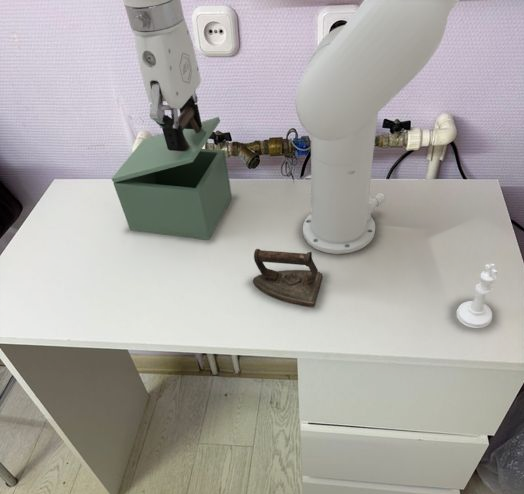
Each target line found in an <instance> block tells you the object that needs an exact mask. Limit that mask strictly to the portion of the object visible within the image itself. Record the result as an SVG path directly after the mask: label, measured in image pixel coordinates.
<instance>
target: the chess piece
mask: <svg viewBox="0 0 524 494" xmlns="http://www.w3.org/2000/svg"><path fill="white" fill-rule="evenodd" d="M495 267H496V264H495V263H493V262H492V263H487V264H485V265H484V269H485V270H484V271H481V273H480V276H479V279H480V282H478V283H477V284H476V285H475V291H476V292H477V294H476V296H475V298H474V299H473V300H468V301H464V302H462V303H461V304H460V305H459V306H458V308H457V310H456V311H455V312H456V313H455V315H456V318H457V320H458V321H459V322H460V323H461V324H462V325H464V326H466V327H468V328H472V329H481V328H482V329H483V328H485V327H487V326H488V325H490V324H491V322H492V320H493V312H492V310H491V308H490V307H489V306H488V305H487V304H486V303H485V300H486V296H487V295H489V294H491V293H492V292H493V287H492V286H491V285H492V284H493V283H494V282H495V281H496V279H497V273H498V270H496V269H495Z"/></svg>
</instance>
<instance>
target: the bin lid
mask: <svg viewBox="0 0 524 494" xmlns="http://www.w3.org/2000/svg"><path fill="white" fill-rule="evenodd" d="M194 115H195V111H194V109H193V108H192V107H190V106H187V107H186V108H185V109H184V110H183V111H182V113H181V114H180V113H179V114H178V124H179V125H181V126H182V130H183V134H184V138H185V142H186V147H187V149H186V150H185V151H170V150H168V148H167V144H166V141H165V137H164V134H163V133H160V134H158V135H154V136H151V137H148V138H147V137H146V138H144V139H142V141H141V142H140V143H139V144H138V145H137V147H136V148H134V150H133V152H131V154H130V155H129V156H128V157H127V158H126V160H125V161H124V162H123V164H122V165H121V166H120V168H119V169H118V170H117V171H116V172H115V174H114V175H113V176H112V177H111V181H112V183H115V182H119V181H122V180H126V179H130V178H134V177H138V176H142V175H145V174H149V173H153V172H157V171H161V170H164V169H168V168H172V167H176V166H180V165H184V164H187V163H191V162H193V161H194V160H195V158H196V157H197V155H198V154H199V152H200V151H201V149H204V148H203V147H204V146H205V145H206V143H207V142H208V140H209V139H210V137H211V136H212V135H213V133H214V131H215V130H216V128H217V127H218V125H219V124H220V122H221V119H220V117H219V116H216V117H214V118H209V119H206V120H204V121H201V124H202V128H201V129H199V127H198V125H197V123H196V121H195V119H194ZM189 122H190V123H191V125H192V127H193V129H185V127H186V126H187V125H188V123H189Z"/></svg>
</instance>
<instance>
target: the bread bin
mask: <svg viewBox="0 0 524 494" xmlns="http://www.w3.org/2000/svg"><path fill="white" fill-rule="evenodd" d="M112 183H113V186H114V190H115V192H116V194H117V195H116V196H117V197H118V200H119V203H120V206H121V209H122V212H123V214H124V217H125V220H126V223H127V225H128V228H129V230H130V231H133V232H142V233H149V234H158V235H166V236H172V237H173V236H174V237H181V238H189V239H197V240H203V241H210V240H211V237H212V236H213V234H214V232H215V230H216V228H217V227H218V225H219V223H220V221H221V219H222V218H223V215H224V214H225V212H226V210H227V209H228V206H229V204H230V203H231V201H232V199H233V196H232V189H231V183H230V176H229V169H228V163H227V157H226V150H223V149H214V148H213V149H211V148H202V149H201V151H200V152H199V154H198V155H197V157H196V158H195V160H194V161H193V162H191V163H187V164H184V165H180V166H176V167H172V168H168V169H164V170H161V171H157V172H153V173H149V174H145V175H142V176H138V177H134V178H130V179H126V180H122V181H119V182H115V183H114V182H112Z"/></svg>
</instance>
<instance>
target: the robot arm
mask: <svg viewBox="0 0 524 494" xmlns="http://www.w3.org/2000/svg"><path fill="white" fill-rule="evenodd" d="M122 1H123V5H124V8H125V12H126V15H127V19H128V22H129V27H130V29H131V33H132V34H134V42H135V48H136V54H137V59H138V65H139V69H140V73H141V78H142V82H143V86H144V89H145V93H146V96H147V99H148V102H149V105H150V107H149V118H150V119H151V120H152V121H154V122H155V123H156V124H157V125H158V126H159V128H160V129H162V134H164V137H165V141H166V144H167V148H168V150H170V151H185V150H186V149H187V147H186V142H185V138H184V134H183V130H182V126H181V125H179V124H178V117H179V115H180V114H181V113H182V111H183V110H184V109H185V108H186V107H187V106H190V107H192V108H193V109H194V111H195V115H194V119H195V121H196V123H197V125H198V127H199V129H201V128H202V124H201V122H202V121H201V115H200V109H199V105H198V104H197V103H198V102H199V99H198V95H197V93H196V91H197V89H198V88H199V87H200V84H201V80H202V79H201V74H200V73H201V72H200V69H199V65H198V64H199V63H198V60H197V55H196V52H195V48H194V44H193V40H192V36H191V34H190V31H189V28H188V24H187V21H186V19H185V16H184V11H183V5H182V1H181V0H122ZM459 1H460V0H363V1H362V2H361V4H360V5H359V7H357V9H356V11H355V12H354V13H353V14H352V15H351V17H350V18H349V20H348V21H347V22H346V23H345V24H343V25H340V26H337V27H335V28H333V29H332V30H331V31H329V32H328V33H327V34H326V35H325V36H324V37H323V38H322V39H321V40H320V42H319V44H318V45H317V46H316V48H315V49H314V52H313V53H312V56H311V57H310V59H309V61H308V63H307V66H306V68H305V70H304V72H303V74H302V75H301V77H300V80H299V82H298V85H297V88H296V91H295V101H294V102H295V111H296V115H297V118H298V121H299V123H300V125H301V126H302V128H303V130H305V131H306V133H308V134H309V135H310V186H311V187H310V191H311V192H310V194H311V197H310V199H311V200H310V203H311V207H310V208H311V212H310V213H309V215H307V216H306V218H305V219H304V221H303V224H302V234H303V238H304V240H305V241H306V242H307V244H308V245H310V246H311V247H312V248H313V249H316V250H318V251H320V252H324V253H326V254H327V253H328V254H333V255H342V254H343V255H344V254H350V253H354V252H357V251H361V249H363V248H365V247H366V246H367V245H369V244H370V243H371V242H372V240H373V239H374V236H375V234H376V233H375V232H376V223H375V219H373V217H372V216H371V214H372V213H373V212H374V210H375V208H378V207H380V206H381V205H383V204H384V203H385V202H386V197H385V195H384V193H382V192H378V193H376V194H374V195H373V196H372V197H370V193H371V185H372V184H371V183H372V174H373V173H372V172H373V162H374V151H375V144H376V135H377V124H378V118H379V117H378V116H379V112H380V111H381V110H383V108H385V107H386V105H387V104H389V103H390V102H391V101H392V99H394V98H395V97H396V96H397V95H399V93H400V92H401V91H402V90H403V89H404V88H405V87H406V86H407V85H408V84H409V83H410V82H411V81H412V80H413V79H414V78H416V76H417V75H418V74H419V73H420V72H421V71H422V70H423V69H424V67H426V65H427V64H428V63H429V61H430V60H431V59H432V58H433V56H434V55H435V53H436V52H437V50H438V48H439V46H440V44H441V43H442V40H443V38H444V34H445V31H446V28H447V24H448V19H449V18H448V17H449V16H450V12H451V11H452V9H453V8H454V7H455V6H456V5H457V3H458V2H459ZM164 102H166V103H167V104H164ZM178 110H179V112H178ZM165 111H170V116H169V115H167V114H166V113H165ZM185 129H193V127H192V125H191V123H190V122H189V123H188V125H187V126H186V127H185Z"/></svg>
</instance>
